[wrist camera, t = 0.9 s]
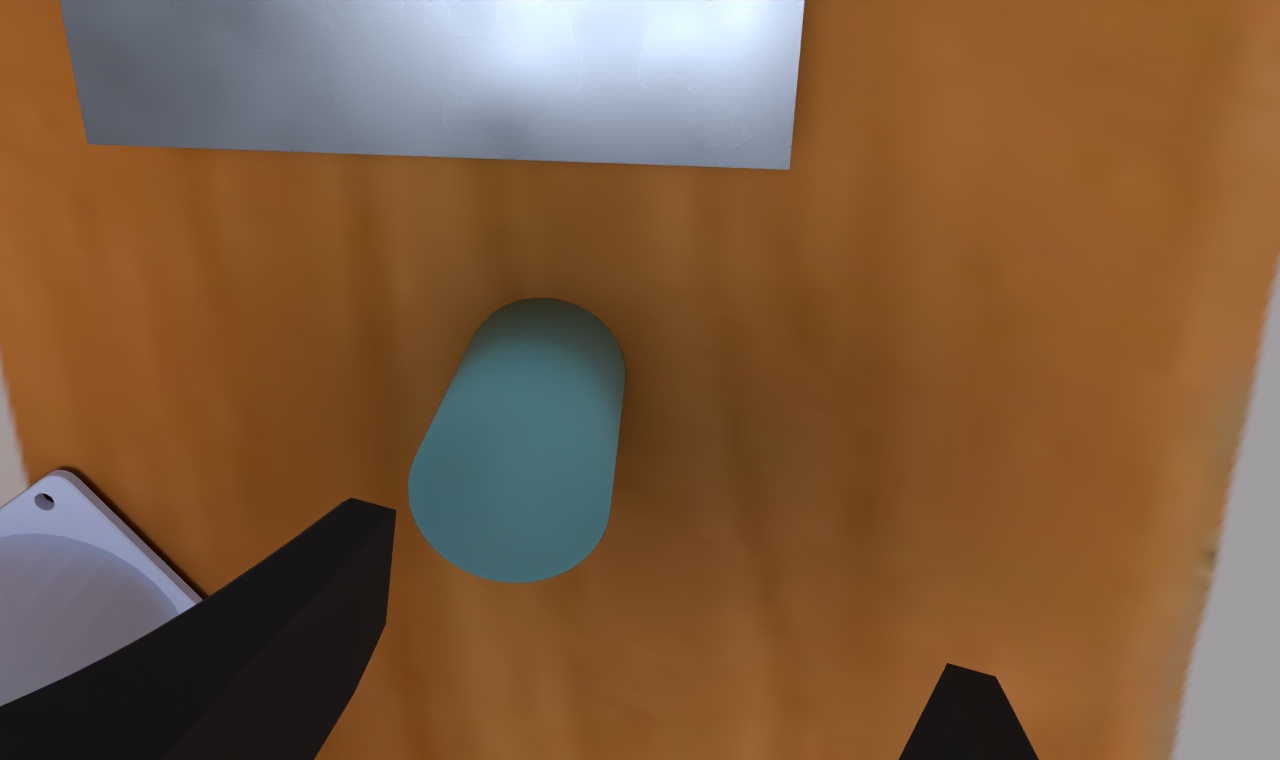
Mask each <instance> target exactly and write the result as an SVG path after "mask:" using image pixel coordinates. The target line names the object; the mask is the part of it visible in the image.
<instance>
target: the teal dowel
mask: <svg viewBox="0 0 1280 760" xmlns="http://www.w3.org/2000/svg"><path fill="white" fill-rule="evenodd" d="M624 387H625V364H624V359H623V355H622V352H621V349H620V347H619V345H618V343H617V341H616V339H615V338H614V336H613V335H612V333H611V332H610V330H609V329H608V328H607V327H606V326H605V325H604V324H603V323H602V322H601V321H600V320H599V319H598V318H597V317H595V316H594V315H593V314H591V313H590V312H588V311H587V310H585V309H583V308H581V307H579V306H577V305H574V304H572V303H569V302H566V301H562V300H558V299H550V298H532V299H525V300H521V301H517V302H514V303H511V304H509V305H506V306H504V307H503V308H501V309H499V310H497V311H496V312H494V313H493V314H492V315H491V316H489V317H488V318H487V319H486V320H485V321H484V322H483V323H482V324H481V326H480V327H479V328H478V330H477V331H476V332H475V334H474V336H473V338H472V340H471V342H470V344H469V346H468V348H467V350H466V352H465V354H464V357H463V359H462V361H461V363H460V365H459V367H458V369H457V371H456V373H455V375H454V377H453V379H452V381H451V384H450V386H449V388H448V390H447V392H446V394H445V396H444V398H443V400H442V402H441V404H440V406H439V408H438V411H437V413H436V415H435V417H434V419H433V421H432V423H431V425H430V427H429V429H428V431H427V433H426V436H425V438H424V440H423V442H422V444H421V446H420V448H419V450H418V452H417V454H416V456H415V458H414V461H413V464H412V467H411V470H410V475H409V480H408V496H409V504H410V508H411V511H412V515H413V517H414V520H415V522H416V524H417V526H418V528H419V530H420V531H421V533H422V535H423V536H424V538H425V539H426V540H427V541H428V543H429V544H430V545H431V546H432V547H433V548H434V549H435V550H436V551H437V552H438V553H439V554H440V555H441V556H442V557H444V558H445V559H446V560H448V561H449V562H450V563H452V564H454V565H455V566H457V567H458V568H460V569H462V570H464V571H466V572H468V573H471V574H473V575H476V576H479V577H482V578H485V579H489V580H493V581H499V582H507V583H526V582H535V581H540V580H544V579H548V578H551V577H554V576H557V575H559V574H561V573H564V572H566V571H568V570H570V569H571V568H573V567H574V566H576V565H577V564H579V563H580V562H581V561H582V560H583V559H585V558H586V557H587V556H588V555H589V554H590V553H591V552H592V550H593V549H594V548H595V547H596V545H597V544H598V542H599V541H600V539H601V538H602V536H603V533H604V531H605V529H606V527H607V523H608V520H609V515H610V507H611V499H612V490H613V482H614V473H615V464H616V456H617V447H618V439H619V430H620V421H621V413H622V404H623V396H624Z"/></svg>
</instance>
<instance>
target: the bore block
mask: <svg viewBox="0 0 1280 760" xmlns="http://www.w3.org/2000/svg"><path fill="white" fill-rule="evenodd" d="M60 4H61V9H62V15H63V20H64V25H65V30H66V35H67V40H68V45H69V50H70V56H71V61H72V66H73V71H74V76H75V81H76V86H77V91H78V96H79V102H80V107H81V112H82V117H83V122H84V127H85V132H86V137H87V143H88V144H97V145H125V146H153V147H180V148H208V149H236V150H263V151H291V152H318V153H346V154H374V155H401V156H429V157H456V158H484V159H512V160H539V161H567V162H595V163H622V164H650V165H677V166H705V167H733V168H760V169H788V170H789V167H790V156H791V144H792V133H793V122H794V111H795V100H796V89H797V77H798V66H799V55H800V44H801V33H802V22H803V10H804V0H60Z"/></svg>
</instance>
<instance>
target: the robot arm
mask: <svg viewBox="0 0 1280 760" xmlns="http://www.w3.org/2000/svg"><path fill="white" fill-rule="evenodd" d="M43 494H47V495H49V496H50V497H52V499H53V500H54V502H50V501H49V500H47V499H46V498H45V497H44V495H43ZM395 519H396V510H394V509H390V508H387V507H383V506H379V505H376V504H372V503H369V502H365V501H361V500H358V499H354V498H350V499H348V500H346V501H344V502H342V503H341V504H340V505H338V506H337V507H336V508H334V509H333V510H332V511H330V512H329V513H327V514H326V515H325V516H323V517H322V518H321V519H319V520H318V521H317V522H315V523H314V524H313V525H311V526H310V527H309V528H307V529H306V530H305V531H303V532H302V533H301V534H299V535H298V536H296V537H295V538H294V539H292V540H291V541H289V542H288V543H287V544H285V545H284V546H282V547H281V548H280V549H278V550H277V551H275V552H274V553H273V554H271V555H270V556H268V557H267V558H266V559H264V560H263V561H261V562H260V563H258V564H257V565H255V566H254V567H252V568H251V569H249V570H248V571H246V572H245V573H243V574H242V575H241V576H239V577H238V578H236V579H235V580H233V581H232V582H230V583H229V584H227V585H226V586H224V587H223V588H221V589H220V590H218V591H217V592H215V593H214V594H212V595H210V596H209V597H207V598H206V599H204V600H202V599H201V598H200V597H199V596H198V595H197V594H196V593H195V592H194V591H193V590H192V589H191V588H190V587H189V586H188V585H187V584H186V583H185V582H184V581H183V580H182V579H181V578H180V577H179V576H178V575H177V574H176V573H175V572H174V571H173V570H172V569H171V568H170V567H169V566H168V565H167V564H166V563H165V562H164V561H163V560H162V559H161V558H160V557H159V556H158V555H156V554H155V553H154V552H153V551H152V550H151V549H150V548H149V547H148V546H147V545H146V544H145V543H144V542H143V541H142V540H141V539H140V538H139V537H138V536H137V535H136V534H135V533H134V532H133V531H132V530H131V529H130V528H129V527H128V526H127V525H126V524H125V523H124V522H123V521H122V520H121V519H120V518H119V517H118V516H117V515H116V514H115V513H114V512H113V511H112V510H111V509H110V508H108V507H107V506H106V505H105V504H104V503H103V502H102V501H101V500H100V499H99V498H98V497H97V496H96V495H95V494H94V493H93V492H92V491H91V490H90V489H89V488H88V487H87V486H86V485H85V484H84V483H83V482H82V481H81V480H80V479H79V478H78V477H77V476H75V475H74V474H72V473H71V472H68V471H65V470H55V471H52V472H50V473H49V474H47V475H46V476H44V477H43V478H42V479H40V480H39V481H37V482H36V483H35V484H33V485H32V486H30V487H29V488H27V489H26V490H25V491H23V492H22V493H20V494H19V495H18V496H16V497H15V498H13V499H12V500H11V501H9V502H8V503H6V504H5V505H3V506H2V507H1V508H0V760H314V758H315V757H316V755H317V754H318V752H319V750H320V749H321V747H322V745H323V744H324V742H325V740H326V739H327V737H328V736H329V734H330V732H331V731H332V729H333V727H334V726H335V724H336V722H337V721H338V719H339V717H340V716H341V714H342V712H343V711H344V709H345V707H346V706H347V704H348V702H349V701H350V699H351V697H352V696H353V694H354V692H355V690H356V688H357V686H358V684H359V681H360V679H361V677H362V675H363V673H364V671H365V669H366V667H367V665H368V662H369V660H370V658H371V656H372V653H373V651H374V649H375V647H376V645H377V642H378V640H379V638H380V636H381V633H382V631H383V629H384V627H385V625H386V615H387V604H388V594H389V583H390V572H391V562H392V551H393V540H394V530H395ZM899 760H1039V759H1038V757H1037V755H1036V753H1035V751H1034V749H1033V747H1032V745H1031V744H1030V742H1029V740H1028V738H1027V736H1026V734H1025V732H1024V730H1023V728H1022V726H1021V724H1020V722H1019V720H1018V718H1017V716H1016V714H1015V712H1014V710H1013V709H1012V707H1011V705H1010V703H1009V701H1008V699H1007V697H1006V695H1005V693H1004V691H1003V689H1002V688H1001V686H1000V684H999V682H998V680H997V678H996V677H995V676H992V675H988V674H984V673H981V672H977V671H974V670H970V669H966V668H963V667H959V666H956V665H952V664H948V663H947V665H946V667H945V669H944V671H943V673H942V675H941V677H940V679H939V681H938V683H937V685H936V687H935V689H934V691H933V693H932V695H931V697H930V699H929V701H928V703H927V705H926V706H925V708H924V710H923V712H922V714H921V716H920V718H919V720H918V722H917V724H916V726H915V728H914V730H913V732H912V734H911V736H910V738H909V740H908V742H907V744H906V746H905V748H904V750H903V752H902V754H901V756H900V758H899Z"/></svg>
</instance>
